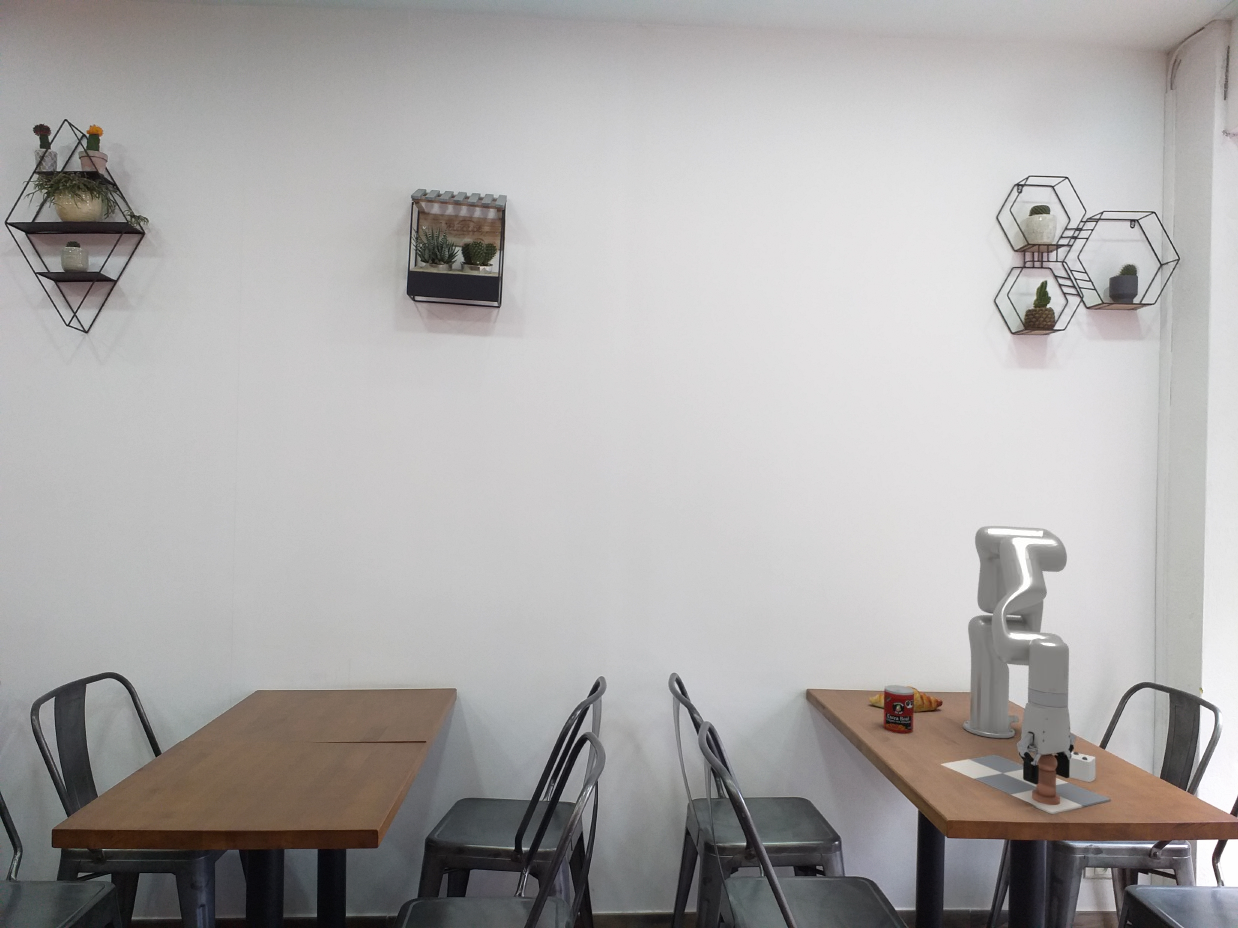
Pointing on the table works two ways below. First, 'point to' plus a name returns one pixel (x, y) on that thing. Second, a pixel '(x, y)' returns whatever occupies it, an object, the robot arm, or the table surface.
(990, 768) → the board
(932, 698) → the croissant
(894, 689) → the canned food
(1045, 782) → the pawn
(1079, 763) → the die
